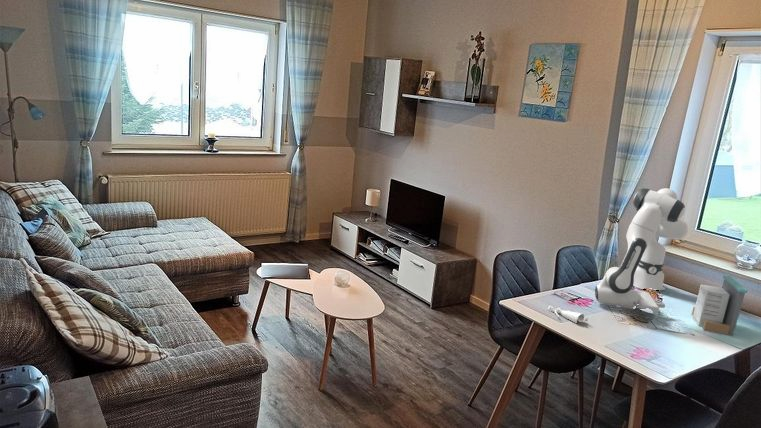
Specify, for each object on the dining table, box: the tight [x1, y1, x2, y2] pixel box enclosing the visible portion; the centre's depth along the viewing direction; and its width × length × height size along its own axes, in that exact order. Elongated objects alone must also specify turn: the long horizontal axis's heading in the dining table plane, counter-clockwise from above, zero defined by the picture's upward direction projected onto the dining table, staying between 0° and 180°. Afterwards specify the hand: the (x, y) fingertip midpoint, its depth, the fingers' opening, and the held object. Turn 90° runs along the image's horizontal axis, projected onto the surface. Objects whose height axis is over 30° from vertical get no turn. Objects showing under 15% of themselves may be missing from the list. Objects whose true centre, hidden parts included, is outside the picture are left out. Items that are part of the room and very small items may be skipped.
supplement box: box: [692, 284, 730, 328], centre depth 240 cm, size 10×9×17 cm
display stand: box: [691, 274, 748, 336], centre depth 240 cm, size 19×12×21 cm, turn 166°
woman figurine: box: [547, 305, 589, 324], centre depth 233 cm, size 12×4×18 cm
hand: (664, 305), depth 245 cm, fingers closed
